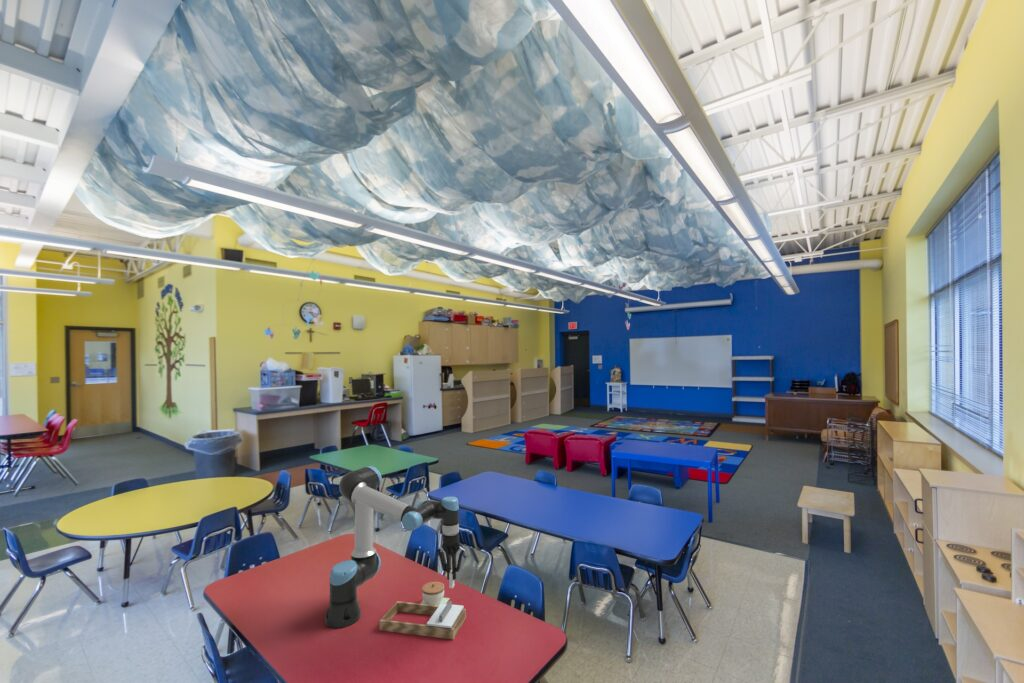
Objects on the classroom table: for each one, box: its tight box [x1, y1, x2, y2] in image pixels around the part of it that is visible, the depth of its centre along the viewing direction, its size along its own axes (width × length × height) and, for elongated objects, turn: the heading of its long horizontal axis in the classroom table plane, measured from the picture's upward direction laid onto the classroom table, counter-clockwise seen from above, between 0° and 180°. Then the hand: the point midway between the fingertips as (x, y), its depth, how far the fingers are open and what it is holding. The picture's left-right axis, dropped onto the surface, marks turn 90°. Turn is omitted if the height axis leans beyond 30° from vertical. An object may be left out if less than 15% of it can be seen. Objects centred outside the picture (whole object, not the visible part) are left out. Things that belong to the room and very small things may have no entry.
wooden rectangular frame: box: [379, 600, 467, 640], centre depth 192 cm, size 34×16×4 cm, turn 78°
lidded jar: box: [421, 581, 446, 606], centre depth 208 cm, size 11×11×9 cm
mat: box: [419, 597, 450, 606], centre depth 208 cm, size 12×12×1 cm
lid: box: [426, 600, 465, 628], centre depth 190 cm, size 11×16×3 cm
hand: (451, 586), depth 194 cm, fingers closed
